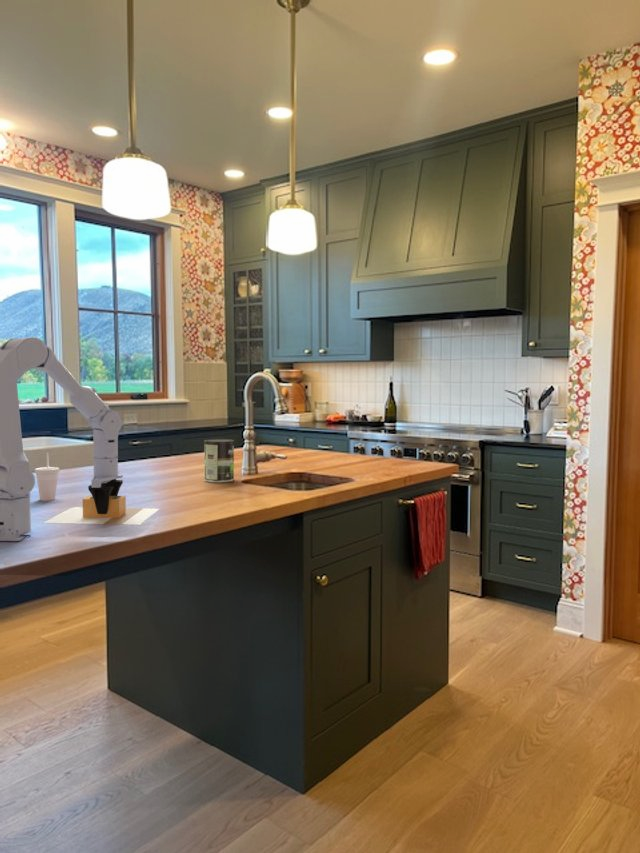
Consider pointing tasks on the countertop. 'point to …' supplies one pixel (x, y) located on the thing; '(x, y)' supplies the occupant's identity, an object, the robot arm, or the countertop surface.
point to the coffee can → (219, 460)
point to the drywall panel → (130, 518)
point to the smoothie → (47, 481)
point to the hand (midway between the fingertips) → (106, 511)
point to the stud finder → (114, 508)
